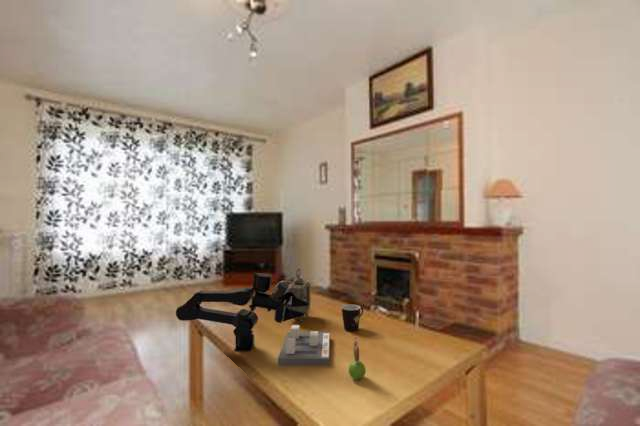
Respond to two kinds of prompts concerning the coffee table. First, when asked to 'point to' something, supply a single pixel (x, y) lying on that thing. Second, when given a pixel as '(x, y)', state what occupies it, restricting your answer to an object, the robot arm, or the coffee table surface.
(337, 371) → the coffee table surface
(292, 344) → the near slider
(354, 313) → the coffee mug
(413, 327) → the coffee table surface
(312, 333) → the middle slider
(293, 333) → the far slider
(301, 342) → the switch panel
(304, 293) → the tabletop clock
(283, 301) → the robot arm
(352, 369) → the snail figurine
